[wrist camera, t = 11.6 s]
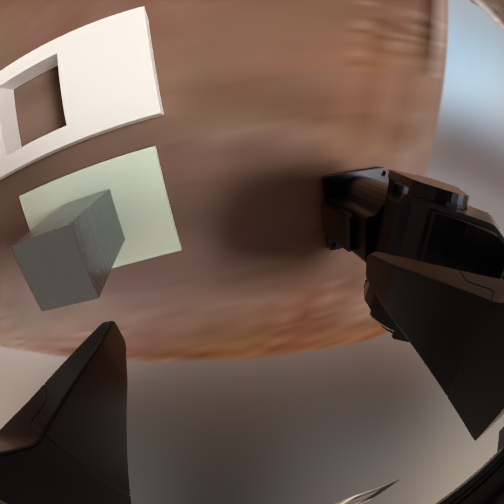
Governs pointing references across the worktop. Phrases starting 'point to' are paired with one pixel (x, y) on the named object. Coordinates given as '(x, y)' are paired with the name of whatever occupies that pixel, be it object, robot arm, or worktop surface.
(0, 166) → the cream window plate
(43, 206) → the green pad
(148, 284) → the worktop surface
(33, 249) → the grey rectangular block
